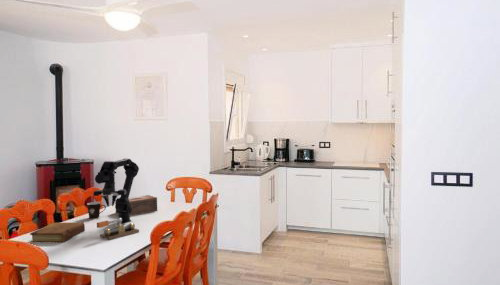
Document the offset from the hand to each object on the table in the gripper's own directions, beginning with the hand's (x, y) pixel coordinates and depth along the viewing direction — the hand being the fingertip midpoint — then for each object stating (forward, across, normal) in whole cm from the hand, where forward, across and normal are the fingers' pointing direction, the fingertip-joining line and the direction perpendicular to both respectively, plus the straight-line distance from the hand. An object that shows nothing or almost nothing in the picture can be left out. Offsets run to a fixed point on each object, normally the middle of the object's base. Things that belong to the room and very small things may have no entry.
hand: (110, 206), depth 232 cm
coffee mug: (+13, -18, +28) cm, 35 cm away
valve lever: (+6, +6, -22) cm, 23 cm away
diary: (+14, -25, -16) cm, 33 cm away
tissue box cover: (+13, +7, +43) cm, 45 cm away
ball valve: (+13, +10, -17) cm, 24 cm away
